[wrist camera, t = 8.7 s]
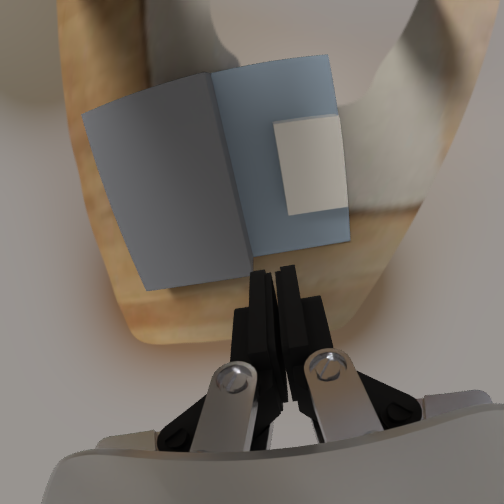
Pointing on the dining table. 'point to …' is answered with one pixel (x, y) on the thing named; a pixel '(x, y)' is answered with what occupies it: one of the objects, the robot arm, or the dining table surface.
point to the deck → (172, 183)
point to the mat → (275, 148)
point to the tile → (312, 163)
